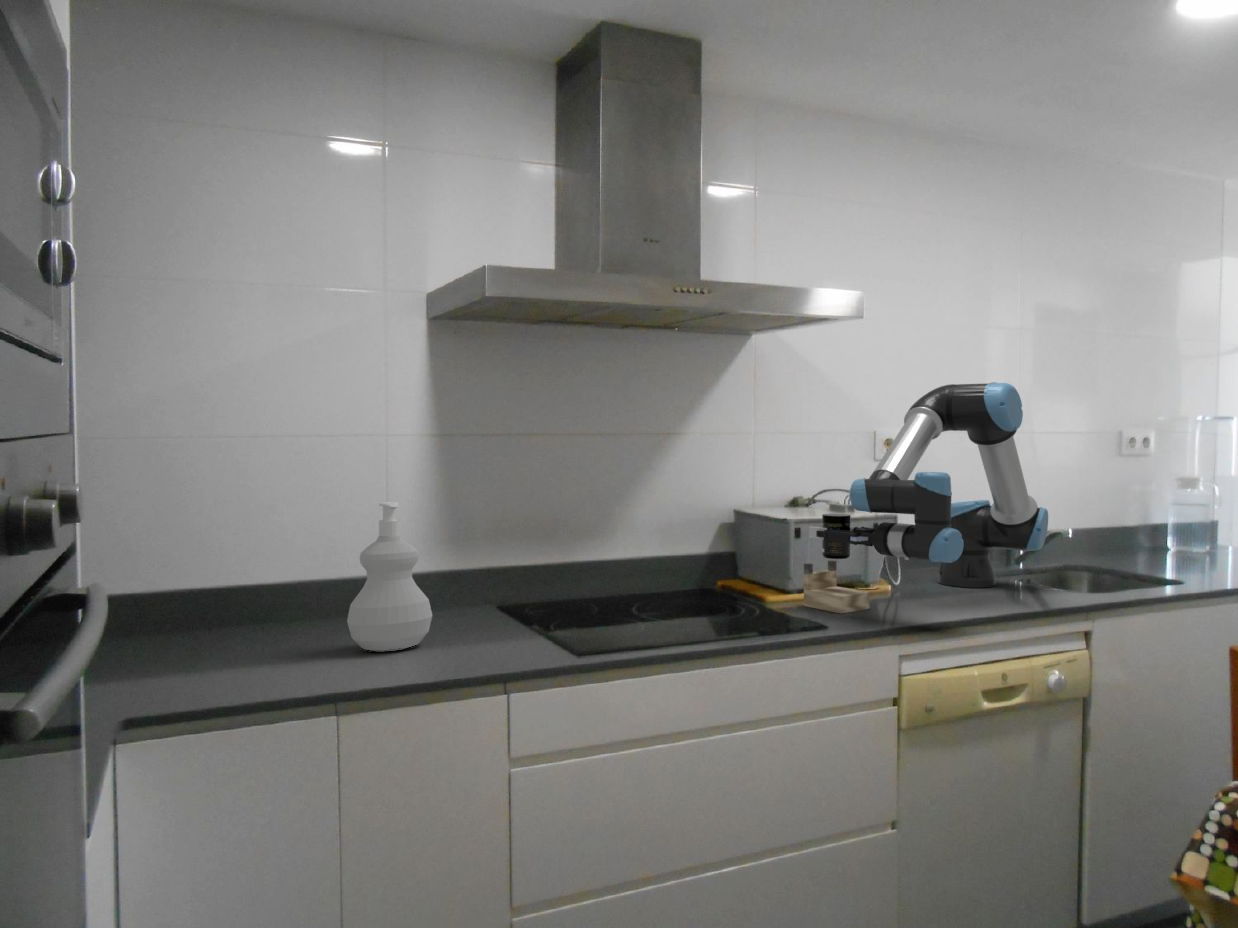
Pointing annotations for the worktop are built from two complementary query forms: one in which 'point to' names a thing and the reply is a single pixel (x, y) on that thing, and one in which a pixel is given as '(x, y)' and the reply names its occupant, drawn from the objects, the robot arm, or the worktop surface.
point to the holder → (831, 591)
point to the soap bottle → (389, 592)
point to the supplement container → (836, 548)
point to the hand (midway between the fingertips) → (820, 531)
